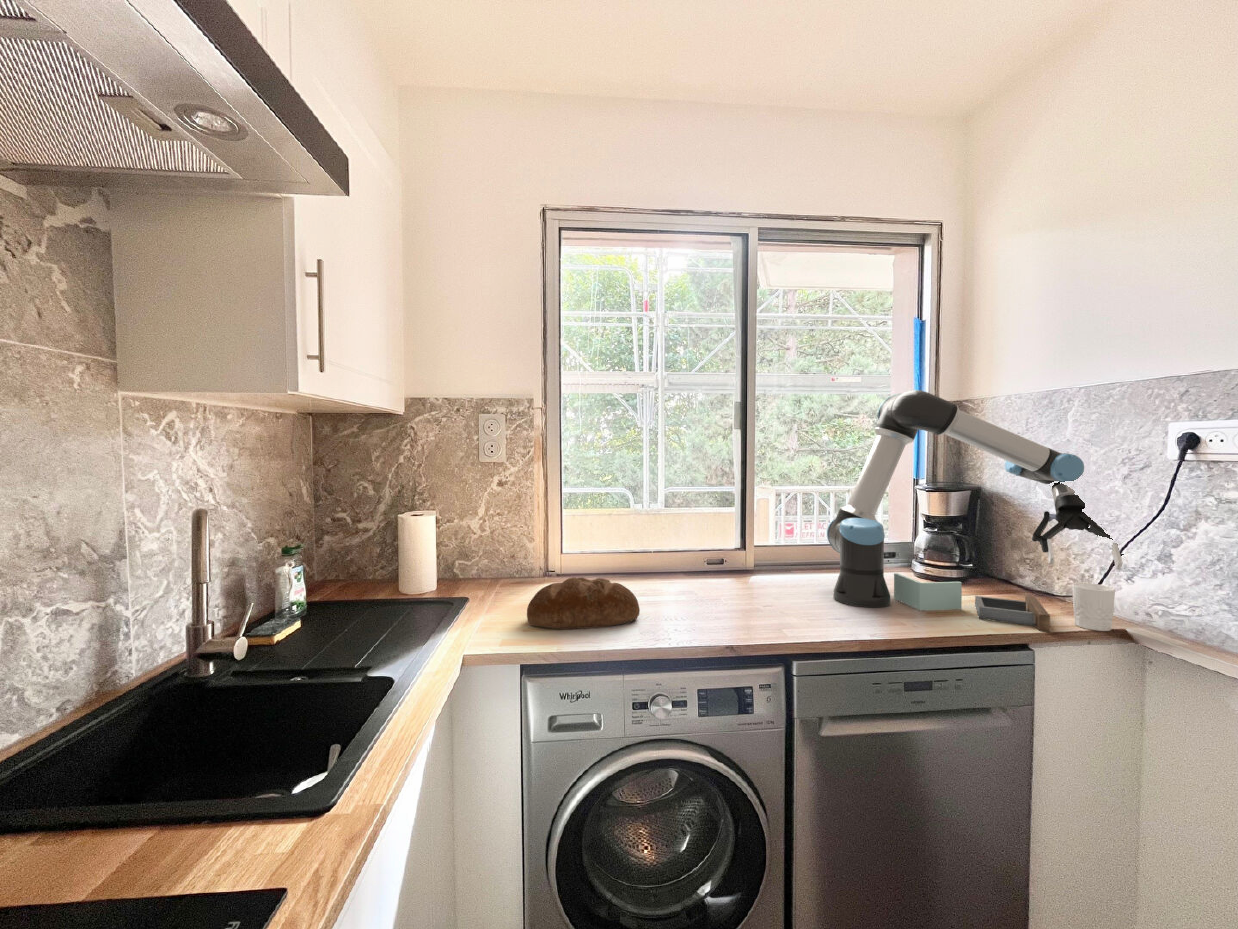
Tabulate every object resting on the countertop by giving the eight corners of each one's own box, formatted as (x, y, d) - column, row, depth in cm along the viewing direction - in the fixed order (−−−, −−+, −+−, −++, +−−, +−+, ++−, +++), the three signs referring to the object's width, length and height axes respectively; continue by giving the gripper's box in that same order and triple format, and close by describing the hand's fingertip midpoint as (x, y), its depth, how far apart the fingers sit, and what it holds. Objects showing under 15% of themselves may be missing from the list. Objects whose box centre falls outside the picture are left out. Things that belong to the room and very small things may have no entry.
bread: (526, 615, 142) (526, 573, 142) (632, 609, 147) (632, 569, 147) (527, 635, 127) (526, 588, 127) (645, 627, 132) (645, 582, 132)
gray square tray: (979, 619, 136) (979, 607, 136) (975, 606, 147) (975, 595, 147) (1036, 626, 131) (1036, 613, 131) (1027, 612, 141) (1027, 601, 141)
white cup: (1123, 633, 125) (1123, 591, 125) (1084, 631, 127) (1085, 590, 127) (1100, 622, 133) (1100, 583, 133) (1064, 621, 135) (1064, 582, 134)
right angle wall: (961, 609, 145) (961, 582, 145) (919, 610, 144) (919, 583, 144) (932, 597, 157) (933, 572, 157) (894, 598, 156) (894, 573, 156)
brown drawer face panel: (1039, 630, 127) (1039, 614, 127) (1025, 609, 145) (1025, 594, 145) (1049, 632, 126) (1049, 615, 126) (1034, 610, 144) (1034, 595, 144)
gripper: (1126, 512, 147) (1145, 577, 134) (1015, 508, 159) (1023, 567, 147) (1133, 494, 142) (1154, 560, 130) (1018, 492, 155) (1027, 551, 142)
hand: (1084, 564), depth 138 cm, fingers open, 13 cm apart
